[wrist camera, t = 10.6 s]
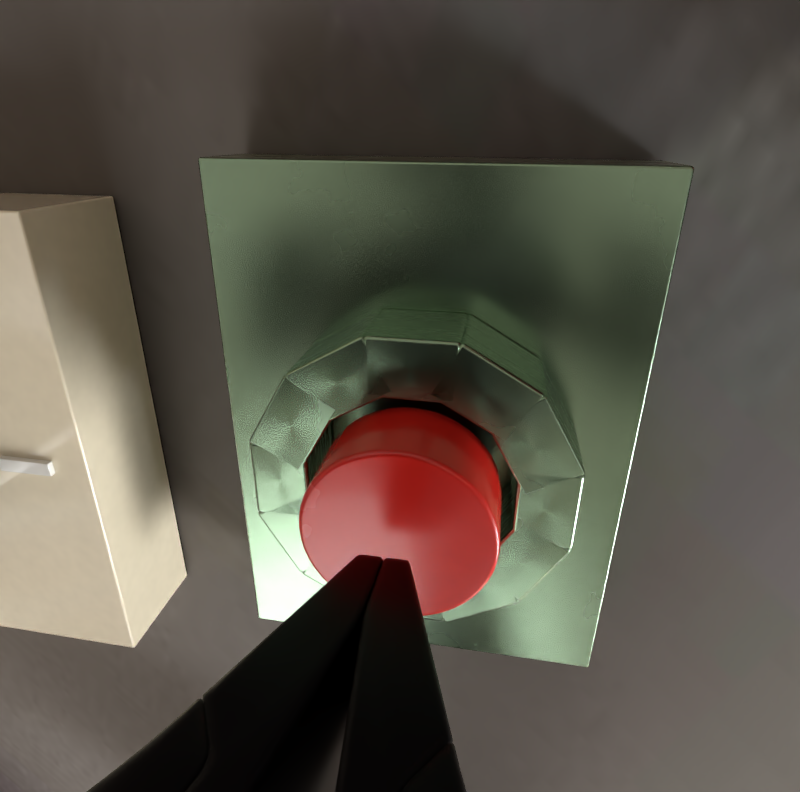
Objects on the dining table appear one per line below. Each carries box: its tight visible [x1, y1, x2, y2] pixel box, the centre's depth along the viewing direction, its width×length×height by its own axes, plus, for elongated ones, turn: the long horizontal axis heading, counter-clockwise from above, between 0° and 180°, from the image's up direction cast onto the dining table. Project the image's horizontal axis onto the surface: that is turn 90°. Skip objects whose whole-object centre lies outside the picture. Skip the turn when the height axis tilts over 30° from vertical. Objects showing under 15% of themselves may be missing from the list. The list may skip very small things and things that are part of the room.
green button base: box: [198, 154, 694, 667], centre depth 13 cm, size 12×9×4 cm
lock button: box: [299, 407, 501, 616], centre depth 11 cm, size 4×4×2 cm
